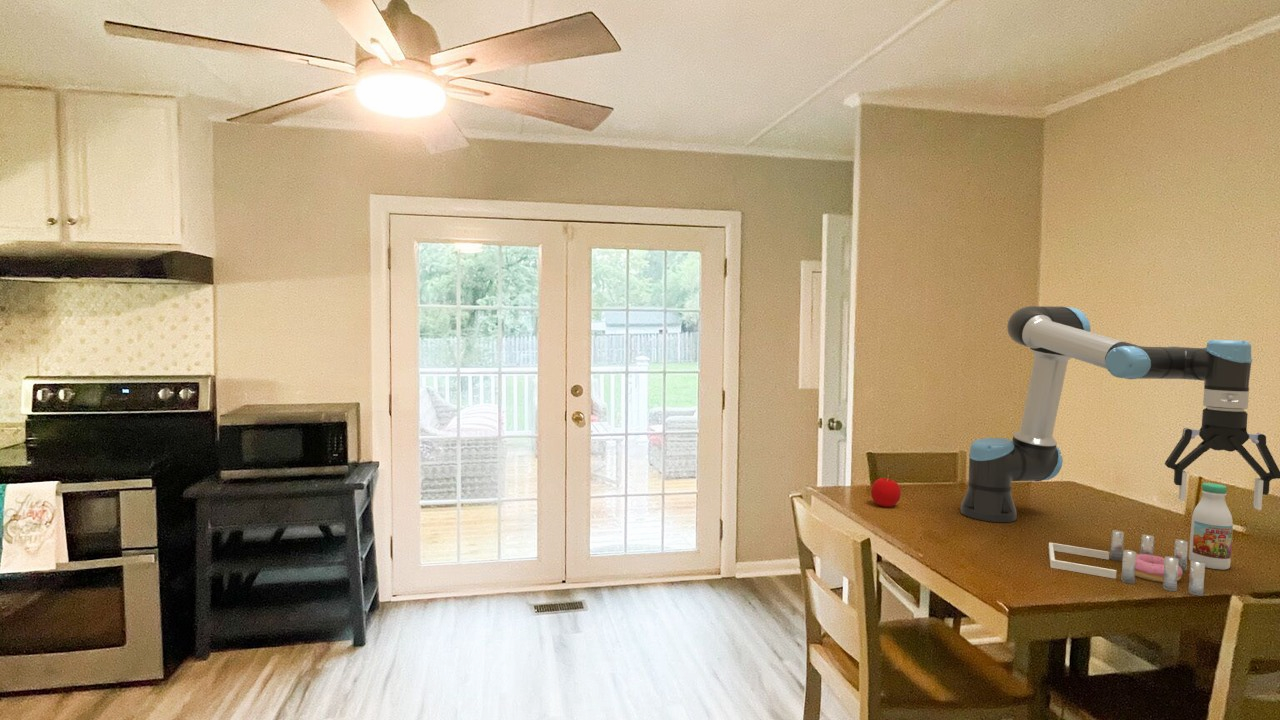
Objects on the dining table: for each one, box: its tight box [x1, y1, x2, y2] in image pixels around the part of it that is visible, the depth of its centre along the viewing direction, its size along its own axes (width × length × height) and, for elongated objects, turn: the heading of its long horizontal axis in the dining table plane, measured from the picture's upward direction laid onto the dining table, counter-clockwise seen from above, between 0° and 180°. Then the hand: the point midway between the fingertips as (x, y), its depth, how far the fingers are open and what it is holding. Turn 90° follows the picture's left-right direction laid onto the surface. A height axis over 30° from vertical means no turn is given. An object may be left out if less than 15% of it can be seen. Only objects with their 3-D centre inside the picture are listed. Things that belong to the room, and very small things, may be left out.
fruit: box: [870, 474, 902, 508], centre depth 210 cm, size 9×9×10 cm
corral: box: [1048, 542, 1117, 579], centre depth 161 cm, size 13×16×2 cm
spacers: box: [1109, 529, 1206, 597], centre depth 154 cm, size 15×19×7 cm
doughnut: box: [1135, 553, 1184, 583], centre depth 154 cm, size 11×11×4 cm
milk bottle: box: [1188, 482, 1234, 571], centre depth 161 cm, size 8×8×20 cm
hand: (1218, 504), depth 147 cm, fingers open, 12 cm apart
